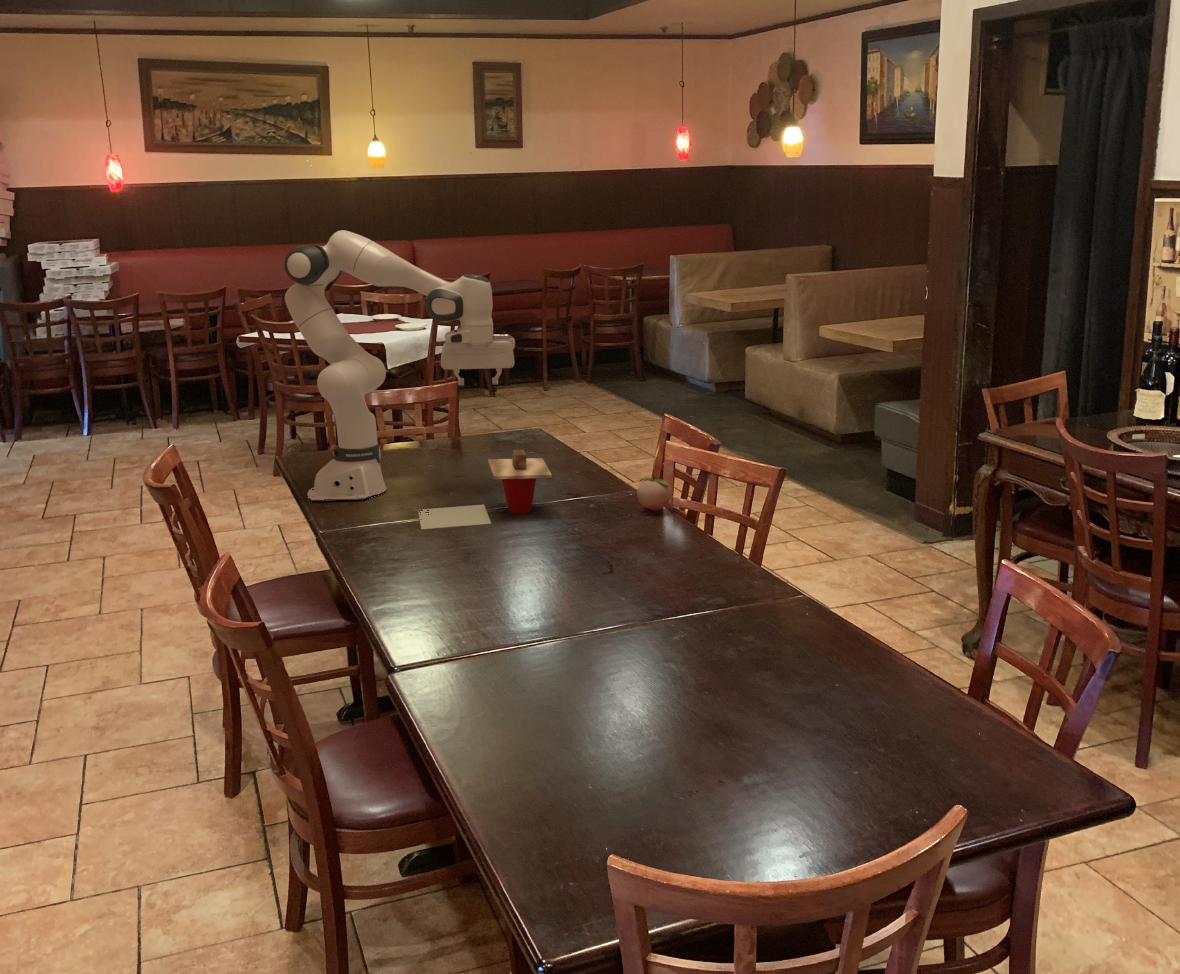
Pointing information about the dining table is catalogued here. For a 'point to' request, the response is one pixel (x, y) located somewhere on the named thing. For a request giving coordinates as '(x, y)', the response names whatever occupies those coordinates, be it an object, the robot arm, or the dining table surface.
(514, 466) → the lid
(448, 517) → the mat
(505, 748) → the dining table surface
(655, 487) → the decorative fruit
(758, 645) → the dining table surface
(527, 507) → the plastic cup
